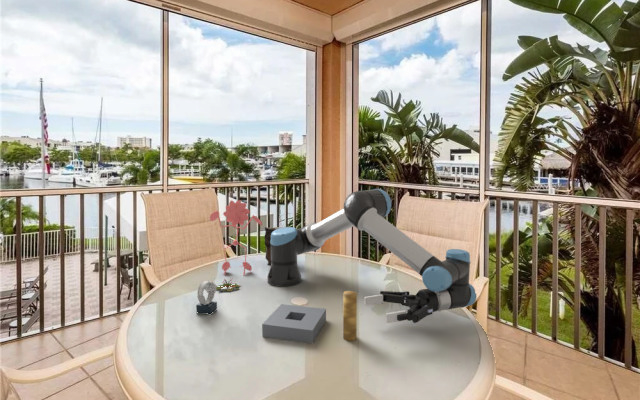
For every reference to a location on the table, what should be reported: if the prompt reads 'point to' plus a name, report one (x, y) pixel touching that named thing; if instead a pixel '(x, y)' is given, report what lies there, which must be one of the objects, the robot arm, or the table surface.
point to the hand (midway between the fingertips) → (374, 309)
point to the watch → (207, 304)
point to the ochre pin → (349, 315)
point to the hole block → (294, 323)
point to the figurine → (235, 215)
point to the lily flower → (227, 285)
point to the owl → (267, 242)
